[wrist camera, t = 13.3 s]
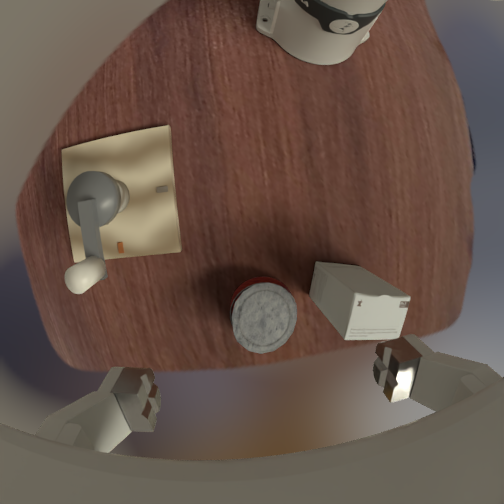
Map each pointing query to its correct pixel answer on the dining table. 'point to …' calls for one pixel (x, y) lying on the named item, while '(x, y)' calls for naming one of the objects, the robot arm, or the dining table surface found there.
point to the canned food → (262, 314)
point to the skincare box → (358, 302)
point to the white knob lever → (91, 224)
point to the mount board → (130, 192)
